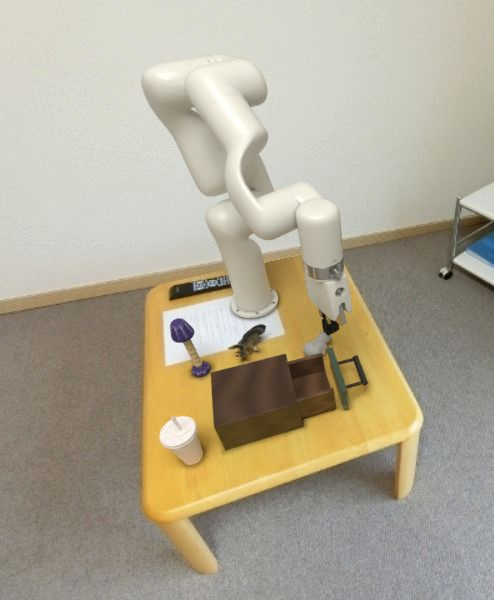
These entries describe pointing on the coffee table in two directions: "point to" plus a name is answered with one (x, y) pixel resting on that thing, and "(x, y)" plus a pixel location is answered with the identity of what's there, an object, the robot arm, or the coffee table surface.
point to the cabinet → (254, 401)
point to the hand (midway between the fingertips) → (331, 330)
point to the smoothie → (182, 439)
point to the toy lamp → (188, 345)
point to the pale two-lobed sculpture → (317, 345)
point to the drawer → (321, 382)
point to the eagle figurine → (249, 341)
